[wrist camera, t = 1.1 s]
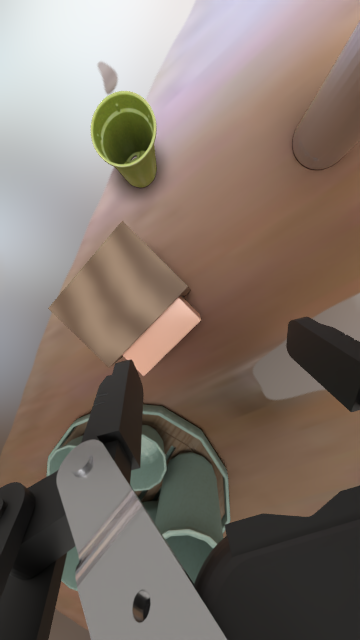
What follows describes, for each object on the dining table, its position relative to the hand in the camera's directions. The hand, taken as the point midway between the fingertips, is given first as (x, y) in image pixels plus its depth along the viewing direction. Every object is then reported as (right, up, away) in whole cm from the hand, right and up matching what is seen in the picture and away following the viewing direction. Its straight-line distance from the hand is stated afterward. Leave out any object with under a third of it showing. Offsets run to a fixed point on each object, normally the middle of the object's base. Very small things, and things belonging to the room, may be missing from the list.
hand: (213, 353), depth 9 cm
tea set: (-11, -35, +33) cm, 50 cm away
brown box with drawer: (-9, +6, +28) cm, 30 cm away
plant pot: (-9, +29, +25) cm, 40 cm away
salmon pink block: (-5, +2, +27) cm, 27 cm away
